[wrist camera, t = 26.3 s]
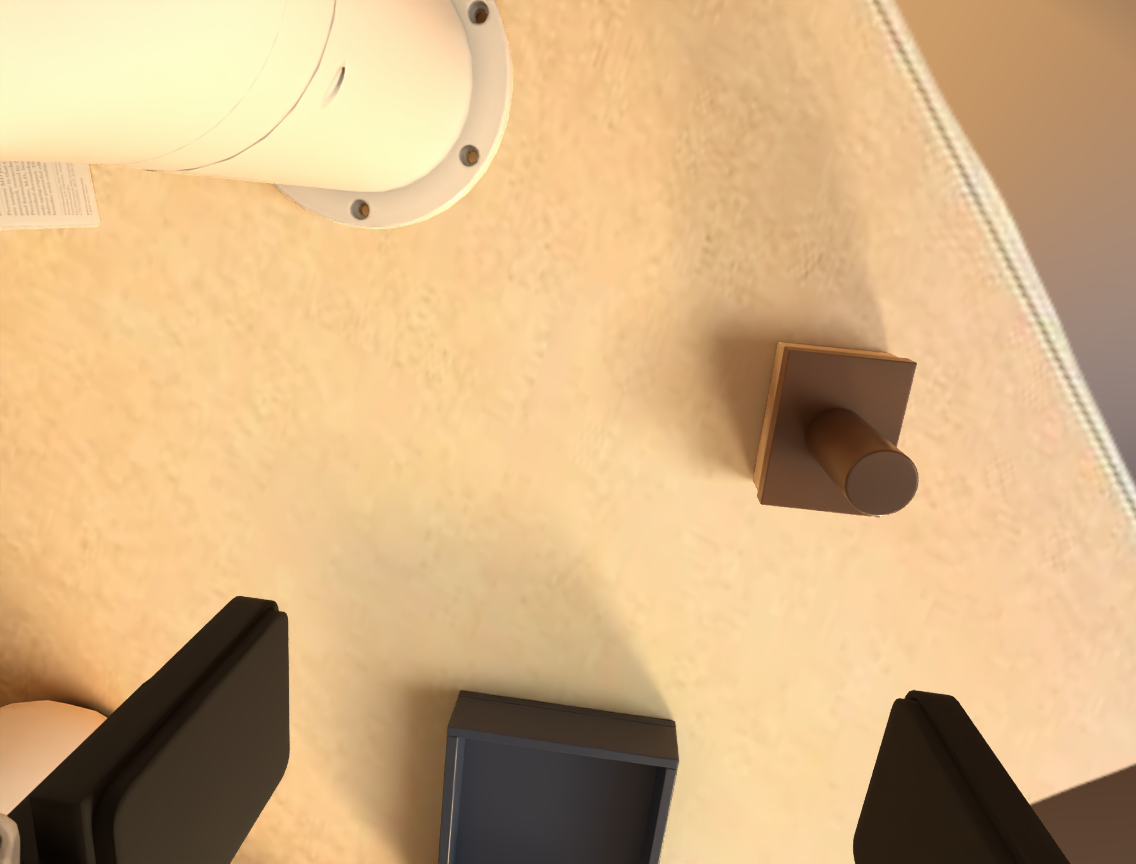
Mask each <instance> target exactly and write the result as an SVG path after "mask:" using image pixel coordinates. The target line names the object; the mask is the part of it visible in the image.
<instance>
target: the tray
mask: <svg viewBox="0 0 1136 864" xmlns="http://www.w3.org/2000/svg"><path fill="white" fill-rule="evenodd" d="M678 763H679V755H678V745H677V735H676V724H675V721H669V720H662V719H655V718H648V717H641V716H634V715H627V714H620V713H613V712H606V711H599V710H592V709H586V708H579V707H572V706H565V705H558V704H551V703H544V702H537V701H530V700H523V699H516V698H509V697H502V696H495V695H488V694H481V693H474V692H467V691H460V693H459V695H458V699H457V701H456V704H455V707H454V710H453V713H452V716H451V719H450V722H449V724H448V729H447V743H446V758H445V772H444V786H443V801H442V815H441V829H440V844H439V858H438V864H659V863H660V857H661V852H662V847H663V842H664V837H665V831H666V826H667V821H668V816H669V810H670V805H671V800H672V795H673V790H674V784H675V779H676V774H677V768H678Z"/></svg>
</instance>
